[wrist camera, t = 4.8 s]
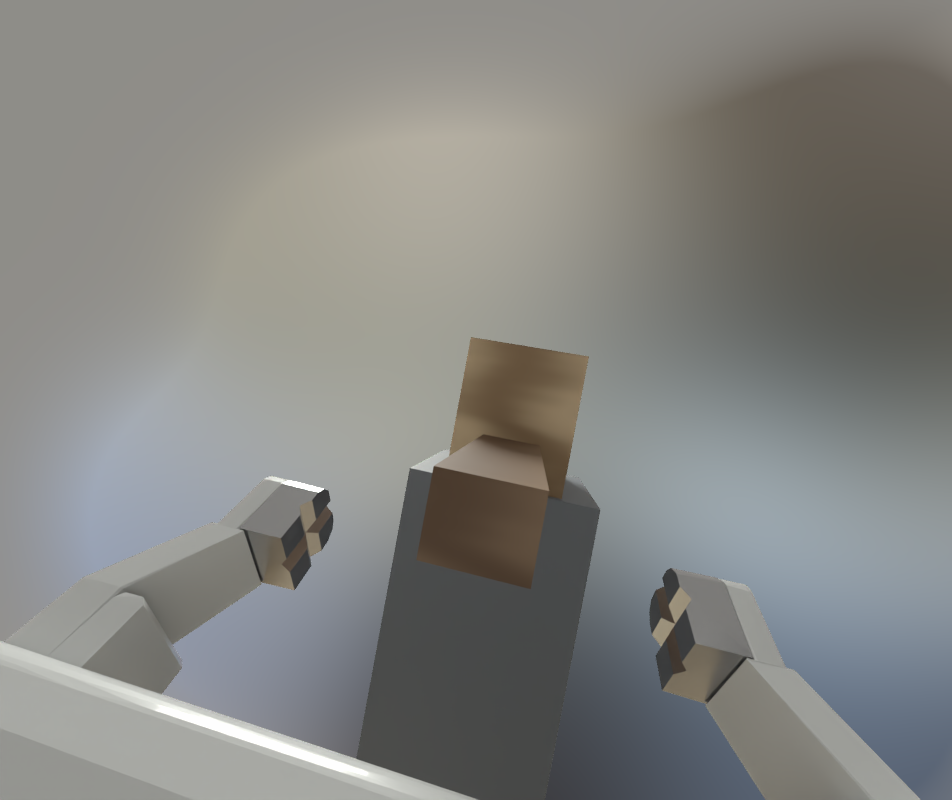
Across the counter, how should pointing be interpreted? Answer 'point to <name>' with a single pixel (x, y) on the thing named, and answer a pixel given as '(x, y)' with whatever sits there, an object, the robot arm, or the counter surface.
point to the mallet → (503, 460)
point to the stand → (477, 657)
